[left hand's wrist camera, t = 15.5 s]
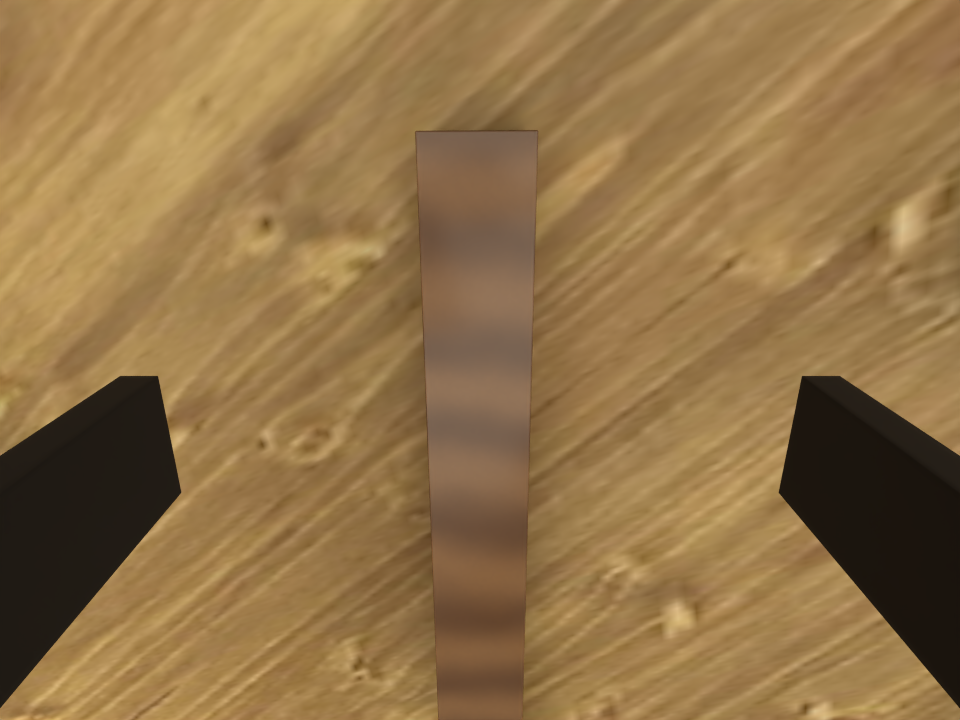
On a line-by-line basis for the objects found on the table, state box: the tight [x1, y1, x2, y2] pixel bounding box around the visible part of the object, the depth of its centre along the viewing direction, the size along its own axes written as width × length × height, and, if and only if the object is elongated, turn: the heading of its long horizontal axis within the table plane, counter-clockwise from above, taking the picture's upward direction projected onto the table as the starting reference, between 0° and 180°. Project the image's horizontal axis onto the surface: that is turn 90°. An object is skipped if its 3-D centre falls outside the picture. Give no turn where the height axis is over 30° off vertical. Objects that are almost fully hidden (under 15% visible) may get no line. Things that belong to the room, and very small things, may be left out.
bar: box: [415, 130, 538, 720], centre depth 45 cm, size 69×6×8 cm, turn 1°
